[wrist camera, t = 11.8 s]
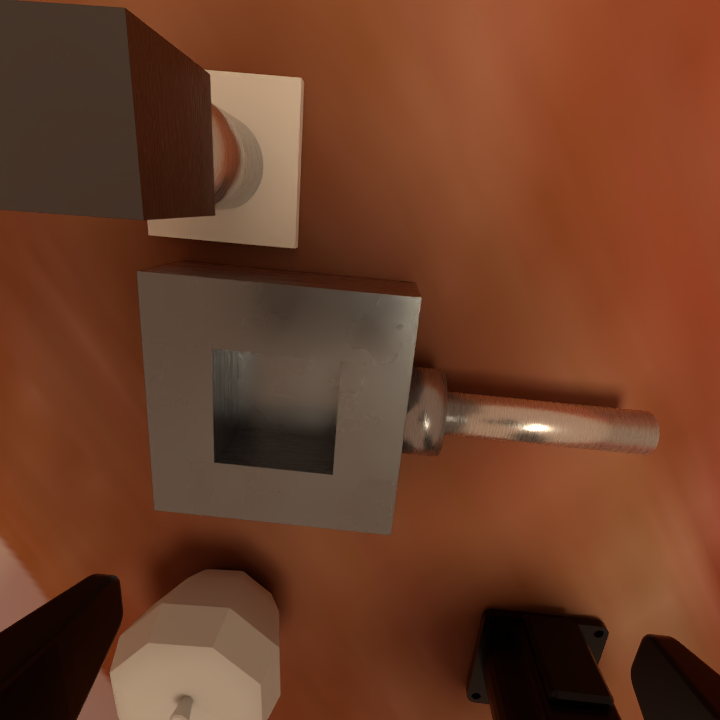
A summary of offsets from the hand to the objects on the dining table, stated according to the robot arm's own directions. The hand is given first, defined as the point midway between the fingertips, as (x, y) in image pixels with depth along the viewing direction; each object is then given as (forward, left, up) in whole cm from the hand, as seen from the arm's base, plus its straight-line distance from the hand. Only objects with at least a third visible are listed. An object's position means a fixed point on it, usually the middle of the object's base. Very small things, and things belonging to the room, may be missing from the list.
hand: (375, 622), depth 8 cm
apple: (-14, +7, -13) cm, 21 cm away
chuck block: (-1, -1, -13) cm, 13 cm away
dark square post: (+8, +7, -12) cm, 16 cm away
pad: (+8, +7, -13) cm, 17 cm away
